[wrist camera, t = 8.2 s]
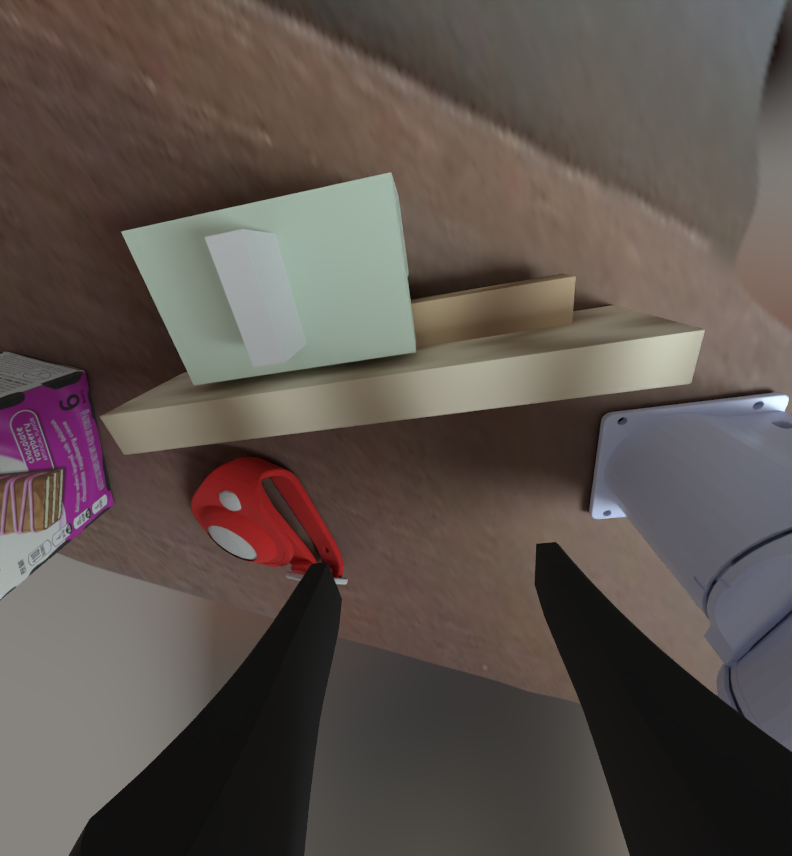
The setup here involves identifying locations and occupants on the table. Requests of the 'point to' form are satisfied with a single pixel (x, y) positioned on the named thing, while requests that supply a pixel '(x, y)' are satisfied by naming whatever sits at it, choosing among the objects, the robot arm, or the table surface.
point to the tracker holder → (262, 517)
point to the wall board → (431, 370)
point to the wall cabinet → (282, 281)
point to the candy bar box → (45, 463)
